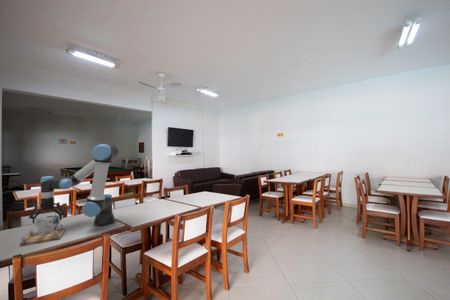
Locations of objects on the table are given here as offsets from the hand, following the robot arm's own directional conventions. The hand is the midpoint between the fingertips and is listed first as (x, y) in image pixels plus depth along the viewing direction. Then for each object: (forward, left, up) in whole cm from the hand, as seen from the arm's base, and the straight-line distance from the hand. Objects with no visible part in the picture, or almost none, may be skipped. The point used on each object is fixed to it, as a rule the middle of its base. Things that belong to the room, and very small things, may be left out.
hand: (47, 225), depth 153 cm
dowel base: (-1, +15, -4) cm, 15 cm away
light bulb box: (0, 0, -4) cm, 4 cm away
